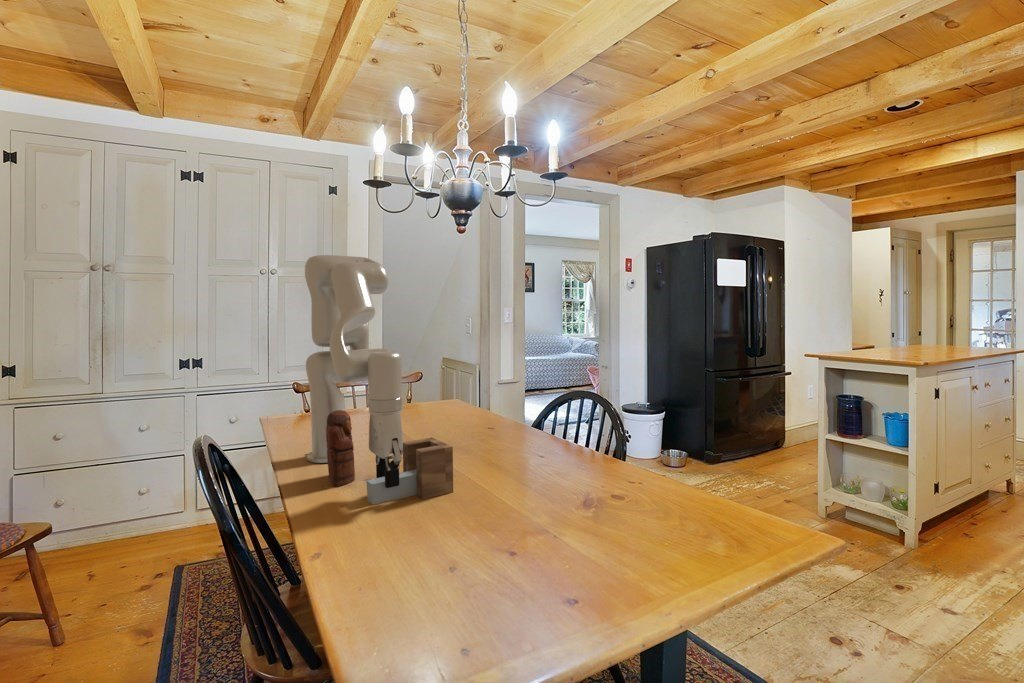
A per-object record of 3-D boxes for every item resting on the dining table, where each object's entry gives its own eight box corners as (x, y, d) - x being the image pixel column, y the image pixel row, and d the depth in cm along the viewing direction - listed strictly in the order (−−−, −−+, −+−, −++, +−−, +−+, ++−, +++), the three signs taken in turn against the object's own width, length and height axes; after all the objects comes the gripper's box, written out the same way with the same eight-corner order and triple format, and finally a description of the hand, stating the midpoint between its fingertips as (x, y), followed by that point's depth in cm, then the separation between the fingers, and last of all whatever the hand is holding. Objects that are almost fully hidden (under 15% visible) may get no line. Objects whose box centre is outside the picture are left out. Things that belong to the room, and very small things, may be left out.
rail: (367, 501, 118) (366, 476, 118) (425, 487, 127) (424, 463, 126) (373, 506, 115) (371, 480, 115) (432, 491, 124) (430, 466, 123)
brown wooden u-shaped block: (403, 486, 127) (402, 442, 127) (433, 479, 132) (432, 437, 131) (422, 499, 118) (421, 452, 118) (453, 492, 123) (452, 446, 122)
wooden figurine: (357, 484, 129) (355, 413, 128) (330, 488, 126) (328, 415, 125) (351, 471, 140) (349, 405, 139) (326, 474, 137) (324, 407, 136)
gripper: (357, 401, 123) (359, 476, 124) (383, 413, 109) (385, 497, 110) (387, 398, 127) (389, 471, 128) (416, 409, 113) (418, 490, 114)
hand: (387, 482), depth 119 cm, fingers open, 4 cm apart
